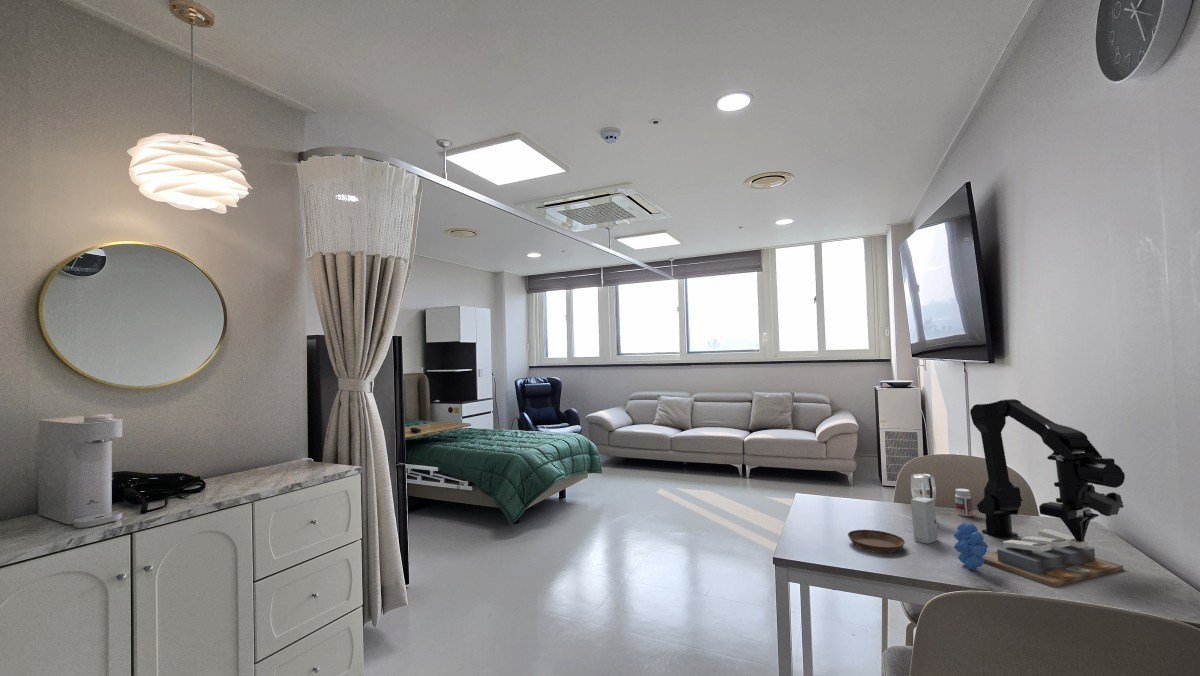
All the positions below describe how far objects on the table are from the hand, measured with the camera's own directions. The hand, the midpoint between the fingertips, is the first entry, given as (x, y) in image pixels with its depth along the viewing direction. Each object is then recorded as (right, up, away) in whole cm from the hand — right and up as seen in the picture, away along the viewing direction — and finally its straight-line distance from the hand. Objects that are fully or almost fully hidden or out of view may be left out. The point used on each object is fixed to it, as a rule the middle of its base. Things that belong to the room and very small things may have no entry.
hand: (1080, 541), depth 128 cm
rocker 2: (-1, -1, +4) cm, 4 cm away
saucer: (-42, -9, +18) cm, 47 cm away
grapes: (-27, -7, 0) cm, 28 cm away
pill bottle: (+3, -9, +44) cm, 45 cm away
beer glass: (-14, -9, +39) cm, 42 cm away
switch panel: (-8, -7, +1) cm, 10 cm away
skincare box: (-26, -9, +21) cm, 35 cm away
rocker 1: (-14, -1, -1) cm, 15 cm away
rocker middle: (-8, -1, +1) cm, 8 cm away
